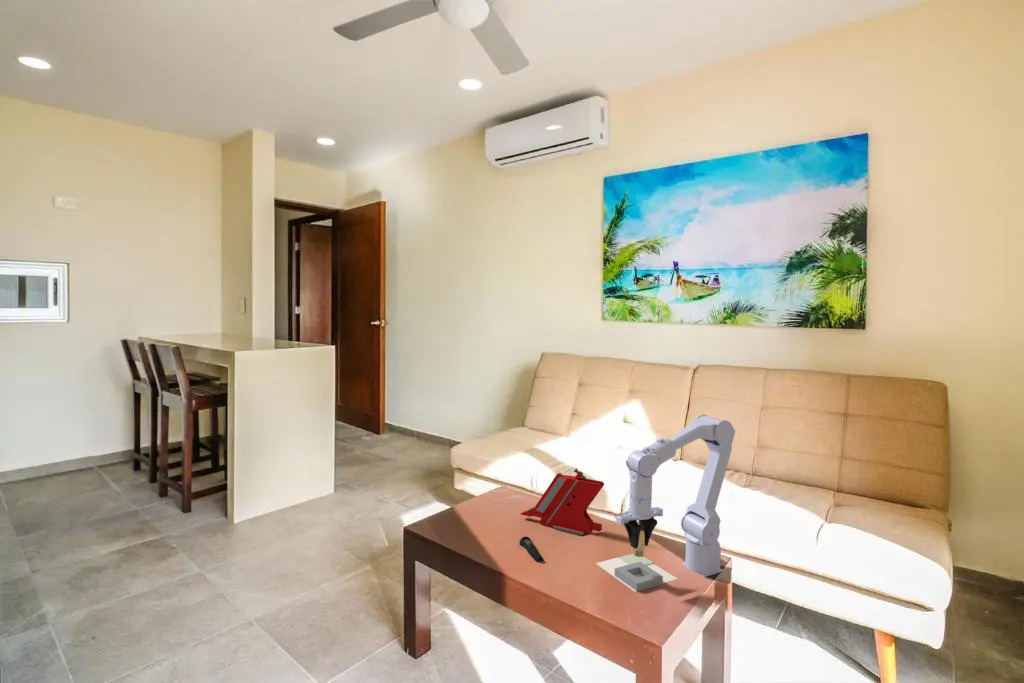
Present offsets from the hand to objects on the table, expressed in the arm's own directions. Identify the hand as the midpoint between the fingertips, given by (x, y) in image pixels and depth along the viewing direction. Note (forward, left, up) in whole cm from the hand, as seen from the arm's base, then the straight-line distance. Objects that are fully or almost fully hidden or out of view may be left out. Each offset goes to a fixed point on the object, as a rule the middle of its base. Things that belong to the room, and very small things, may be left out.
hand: (639, 545), depth 141 cm
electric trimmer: (+17, -28, -11) cm, 34 cm away
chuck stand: (-2, -4, -10) cm, 11 cm away
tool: (0, -40, -11) cm, 41 cm away
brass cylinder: (0, 0, -2) cm, 2 cm away
